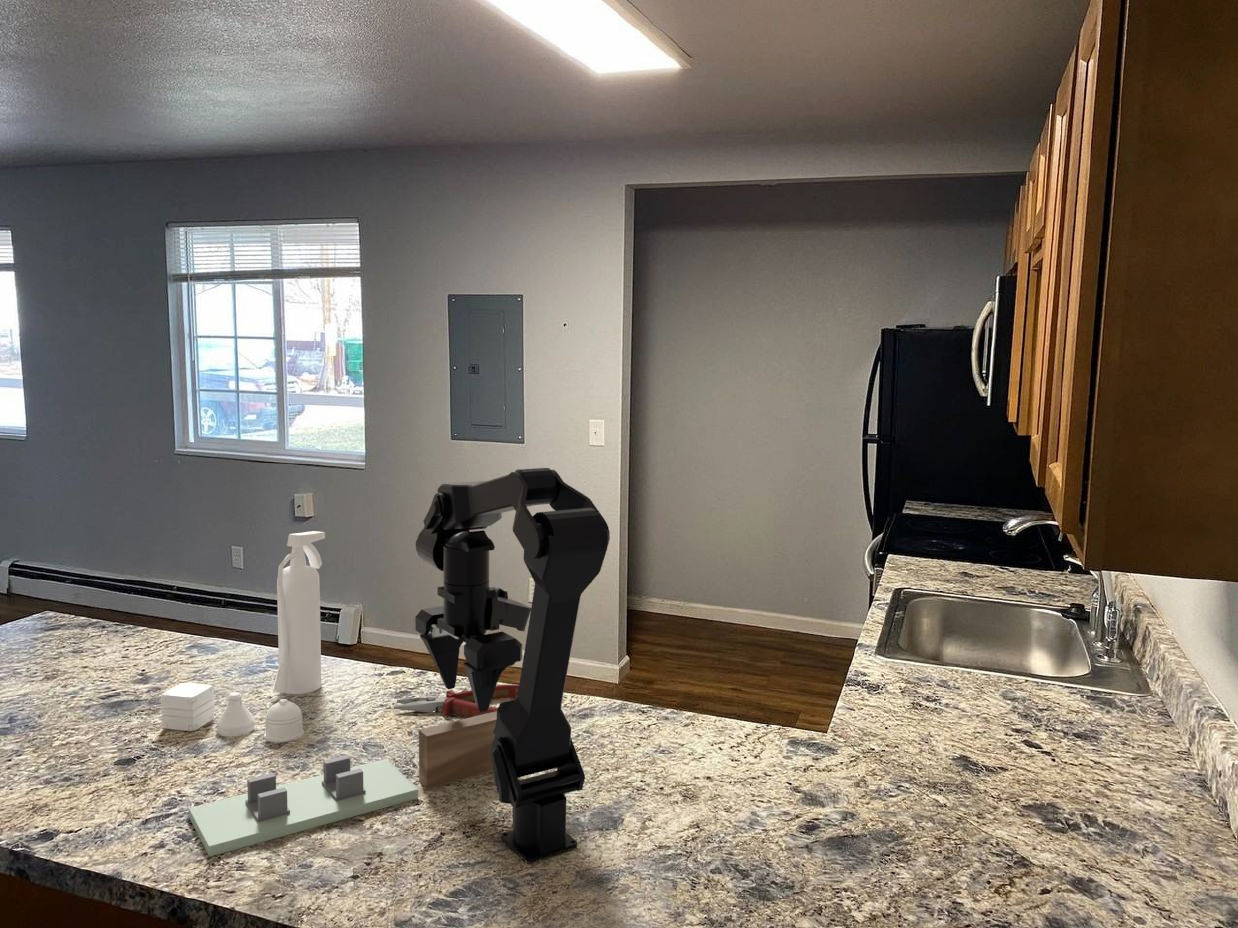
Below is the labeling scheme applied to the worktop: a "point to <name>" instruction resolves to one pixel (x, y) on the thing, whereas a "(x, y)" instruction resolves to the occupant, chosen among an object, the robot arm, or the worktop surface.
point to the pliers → (456, 702)
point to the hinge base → (299, 804)
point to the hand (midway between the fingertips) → (466, 699)
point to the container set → (226, 714)
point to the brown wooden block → (456, 750)
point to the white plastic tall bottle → (299, 617)
